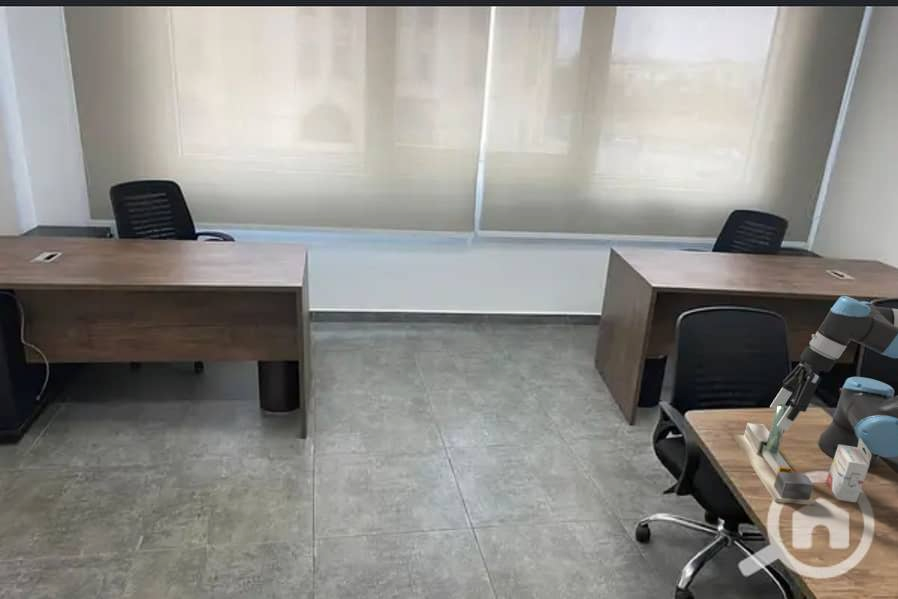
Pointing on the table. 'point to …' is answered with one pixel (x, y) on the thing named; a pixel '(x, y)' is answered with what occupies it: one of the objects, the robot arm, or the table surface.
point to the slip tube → (775, 444)
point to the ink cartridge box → (849, 471)
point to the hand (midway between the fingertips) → (778, 418)
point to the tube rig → (779, 486)
